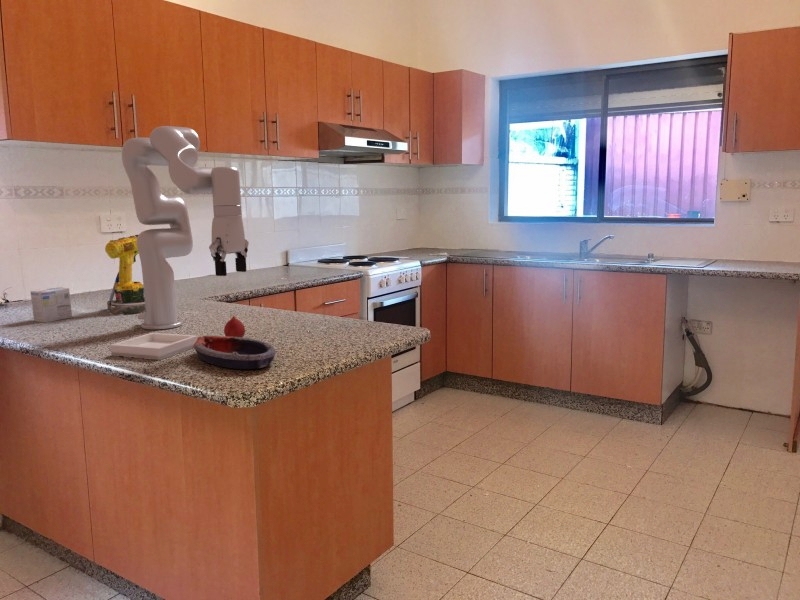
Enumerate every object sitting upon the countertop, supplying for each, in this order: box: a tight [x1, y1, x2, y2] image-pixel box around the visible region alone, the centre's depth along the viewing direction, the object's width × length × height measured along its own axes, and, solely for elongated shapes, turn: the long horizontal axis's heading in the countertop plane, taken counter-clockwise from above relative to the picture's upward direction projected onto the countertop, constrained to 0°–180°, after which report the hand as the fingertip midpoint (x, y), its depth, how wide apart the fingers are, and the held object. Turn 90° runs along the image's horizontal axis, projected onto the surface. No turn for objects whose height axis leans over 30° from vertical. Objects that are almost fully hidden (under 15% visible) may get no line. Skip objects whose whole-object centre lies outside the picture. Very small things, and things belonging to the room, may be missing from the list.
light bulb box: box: [30, 286, 73, 324], centre depth 229 cm, size 11×7×11 cm, turn 149°
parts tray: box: [109, 332, 199, 361], centre depth 179 cm, size 16×16×3 cm
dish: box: [193, 335, 277, 370], centre depth 167 cm, size 16×31×5 cm, turn 43°
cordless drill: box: [104, 234, 146, 315], centre depth 244 cm, size 18×19×28 cm
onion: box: [223, 315, 246, 338], centre depth 186 cm, size 6×6×8 cm
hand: (231, 273), depth 184 cm, fingers open, 9 cm apart
